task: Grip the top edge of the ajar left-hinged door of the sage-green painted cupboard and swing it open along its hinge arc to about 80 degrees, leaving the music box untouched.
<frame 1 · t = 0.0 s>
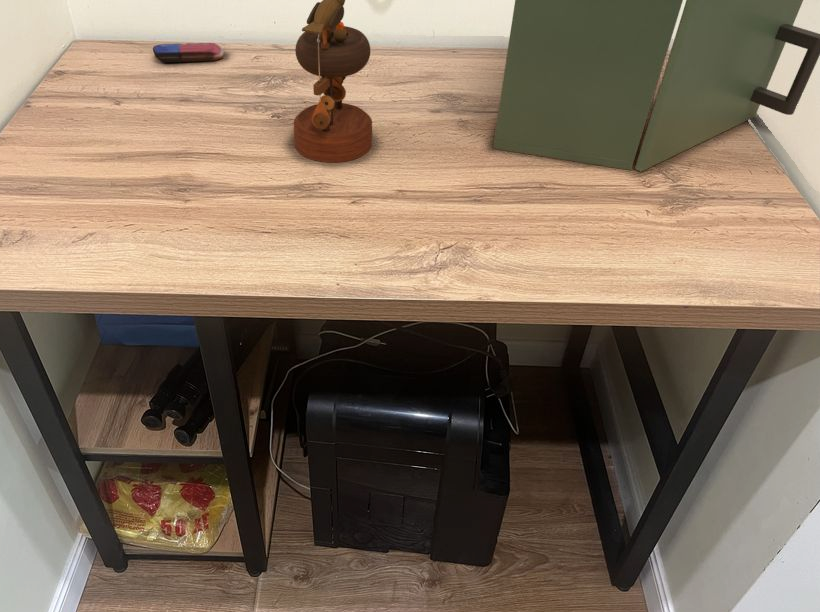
cupboard: (570, 116, 103), on the table
music box: (333, 142, 98), on the table
eraser: (189, 59, 118), on the table
door: (751, 59, 88), point 12 cm above the table, hinge at 35.0°
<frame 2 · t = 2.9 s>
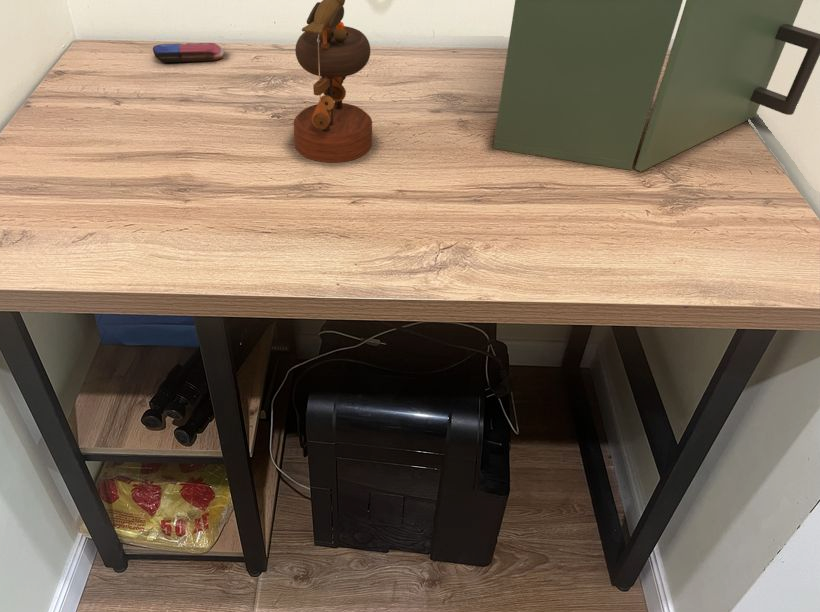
nothing on the table moved.
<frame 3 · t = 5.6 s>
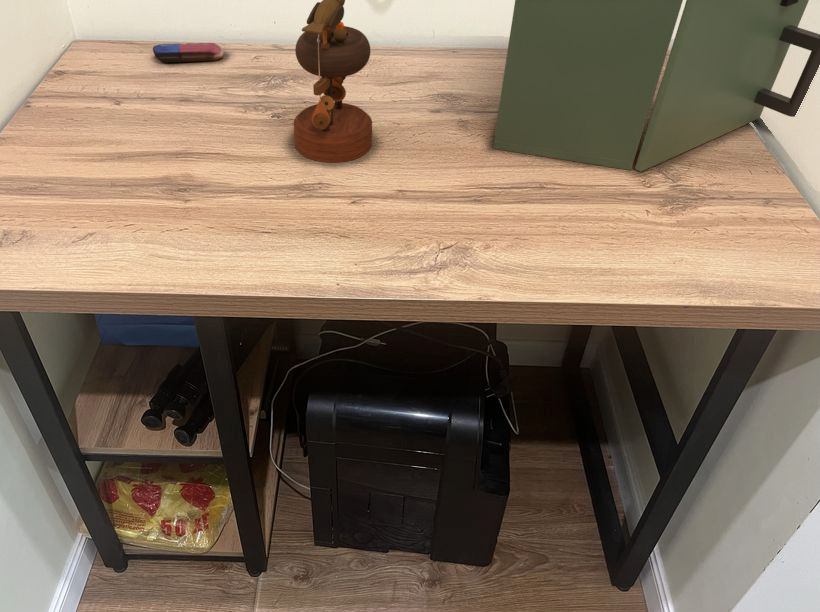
hand: (782, 1, 89), 17 cm above the table, tool pointing down, fingers closed on door
door: (754, 60, 87), point 12 cm above the table, hinge at 36.5°, touching gripper
everything else where it was.
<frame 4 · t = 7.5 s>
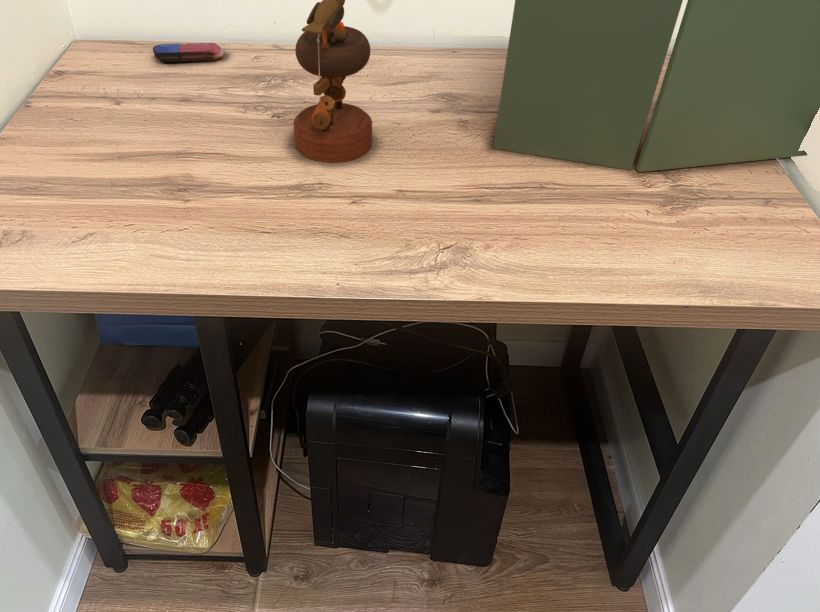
door: (782, 80, 83), point 12 cm above the table, hinge at 60.8°, touching gripper
everything else where it was.
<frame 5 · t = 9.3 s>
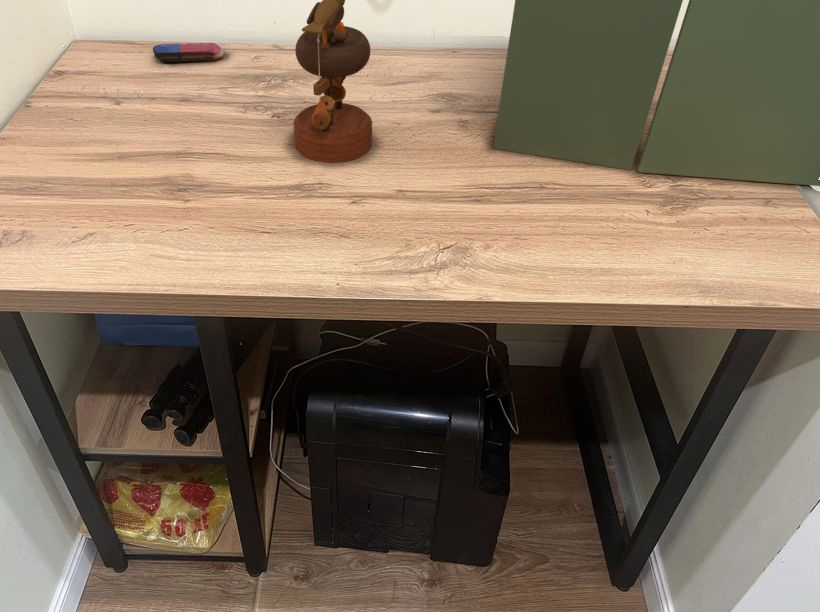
door: (792, 96, 80), point 12 cm above the table, hinge at 80.1°
everything else where it was.
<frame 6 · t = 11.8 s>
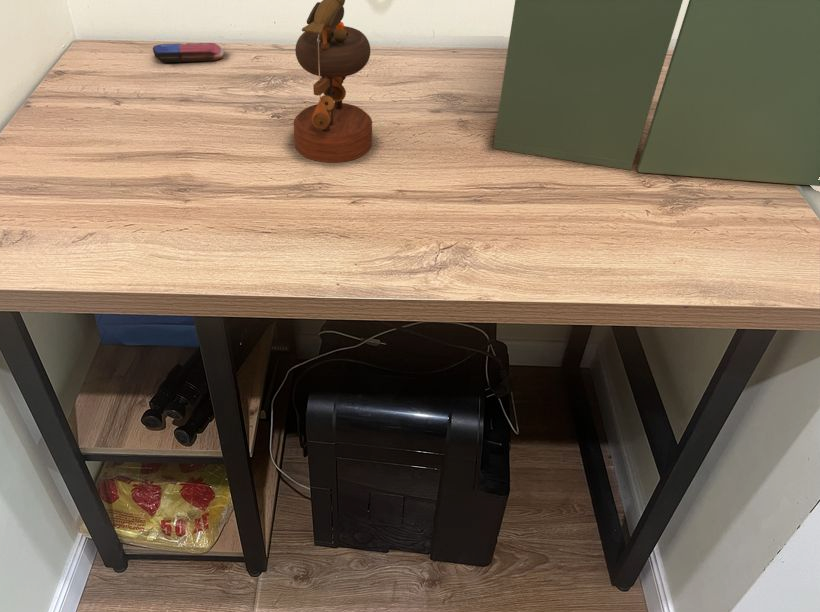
nothing on the table moved.
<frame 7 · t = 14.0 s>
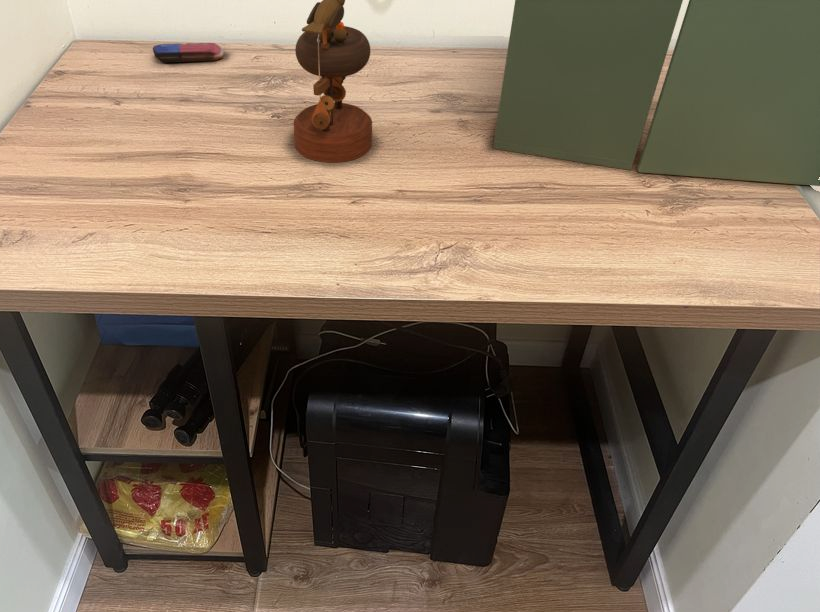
nothing on the table moved.
at the end: door at +80° (first picture: +35°); music box moved 0.2 cm from its start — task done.
